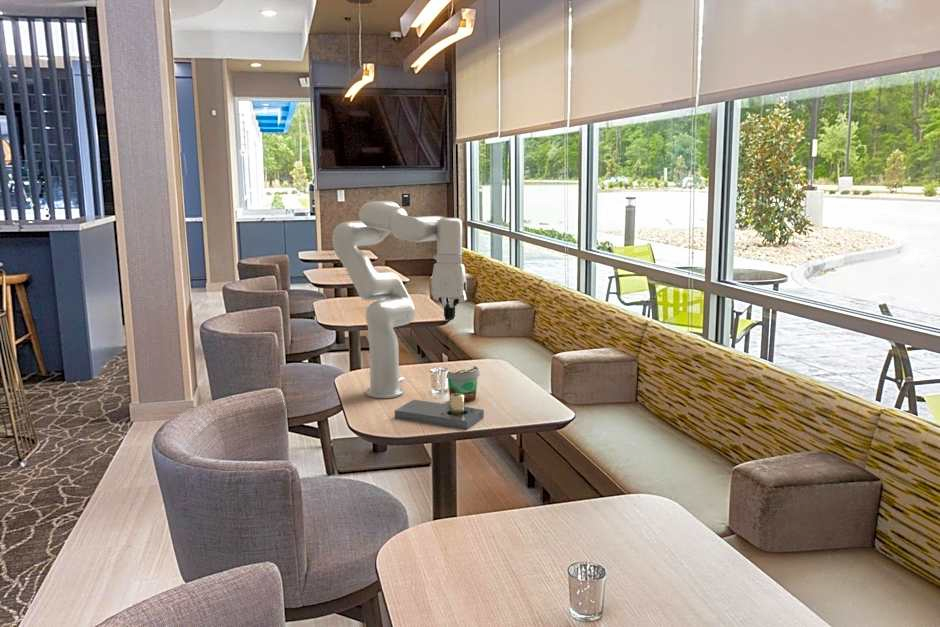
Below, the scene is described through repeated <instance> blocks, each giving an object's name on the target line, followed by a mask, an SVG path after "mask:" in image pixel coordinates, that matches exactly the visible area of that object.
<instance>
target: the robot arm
mask: <svg viewBox="0 0 940 627" xmlns="http://www.w3.org/2000/svg"><path fill="white" fill-rule="evenodd" d="M358 216H359V220H350V221H345V222H340V223H339V224H338V225H336V226H335V228H334V229H333V232H332V235H331V236H332V238H331V239H332V241H331V242H332V243H331V244H332V246H333V247H332V248H333V251H334V253H335V255H336V256H337V259H338V260H339V261H340V262H341V263H342V266H343V267H344V268H345V270H346V272H347V274H348V276H349V279H350V280H351V282H352V284H353V285H354V289H355V290H356V291H357V294H358V296H359V297H360V299H362V300H363V301H366V302H367V301H368V302H369V301H372V303H370V304H369V305H368V306H367V308H366V310H365V320H366V324H367V329H368V338H369V339H368V340H369V341H368V343H369V346H368V347H369V381H370V382H369V383H370V385H369V387H368V388H366V389H365V395H366V396H368V397H369V398H374V399H392V398H396V397H400V396H402V395H404V392H405V390H404V388H403V387H402V386H400V384H401V383H402V382H404V381H405V377H404V376H402V375H400V370H399V368H400V367H399V366H400V364H399V362H400V361H399V360H400V359H399V353H400V352H399V351H400V350H399V339H398V336H397V334H396V333H395V330H394V328H396V327H401V326H405V325H409V324H410V323H412V322H413V321H414V320H415V316H416V307H415V305H414V302H413V300H412V297H411V296H410V294H409V292H408V291H407V289H406V287H405V285H404V283H403V281H402V279H401V277H400V276H399V275H398V274H397V273H396V272H395V271H393V270H388V269H384V270H383V269H382V270H377V269H376V268H375V267H374V266H373V263H372V262H371V260H370V259H371V258H369V257H368V256H367V254H366V253H364V251H362V250H360V249H359V248H358V247H363V246H365V247H366V246H373V245H377V244H379V243H381V242H382V241H383V240H384V239H385V238H386V237H387V236H389V235H390V234H392V235H393V236H394V237H395V238H397V239H399V240H403V241H407V242H411V243H423V242H435V241H436V254H433V256H432V257H433V258H432V259H434V260H435V261H436V263H434V264H433V270H432V276H431V287H430V288H431V290H430V291H431V292H430V293H431V295H432V298H433V300H436V301H437V302H438V301H439V302H440V304H441V305H442V307H443V316H444V321H453V320H454V319H455V317H456V307H457V306H458V304H459V303H463V302H467V293H468V290H467V289H468V286H467V284H468V283H467V274H466V269H465V268H466V267H465V264H464V263H463V221H462V220H461V218H457V217H445V216H441V215H425V216H410V215H408V213H407V211H406V209H405V208H403V207H400V205H399V204H398V203H397V202H395V201H392V200H378V201H377V200H375V201H368V202H366V203H364V204H363V205H362V206H361V207H360V209H359V212H358Z"/></svg>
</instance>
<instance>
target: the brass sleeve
mask: <svg viewBox="0 0 940 627" xmlns="http://www.w3.org/2000/svg"><path fill="white" fill-rule="evenodd" d="M450 405H451V415H454V416H463V415H464V407H465V402H464V394H462V393H453V394H451V401H450Z"/></svg>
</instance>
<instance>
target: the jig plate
mask: <svg viewBox="0 0 940 627" xmlns="http://www.w3.org/2000/svg"><path fill="white" fill-rule="evenodd" d="M484 411H485V410H484V409H481V408H474V407H467V406H464V415H463V416H454V415H451V404H447V403H440V402H434V401H433V402H432V401H427V400H420V399H419V400H418V399H412V400H411V401H409V402H407V403H405V404H404V405H403V404H402V406H399V407H398V408H396V409H395V410H394V419H398V420H403V421H404V420H405V421H410V422H416V421H418V423H422V422H424V423H423V424H429V423H431V424H430V425H435V424H436V425H435V426H443V427H450V428H455V429H461V430H462V429H463V430H468V429H470V428H471V427H473V426H475V425H476V424H477V423H478V422H480V421H481V420H483V419H484V418H483V417H485V416H484V413H485V412H484ZM479 420H480V421H479Z"/></svg>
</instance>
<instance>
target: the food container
mask: <svg viewBox="0 0 940 627" xmlns="http://www.w3.org/2000/svg"><path fill="white" fill-rule="evenodd" d="M480 376H481V374H480V370H479V368H478V367H477V366H475V365H473V368H471V369H462V370H458V371H456V372H451V371H447V373H446V379H447V381H448V382H447V383H448V393H449V394H448V395H449V402H451V394H453V393H462V394H464V403H471V402H474V401H475V400H476V397H477V388H478V386H477V385H478V378H479V377H480ZM470 401H471V402H470Z"/></svg>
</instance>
